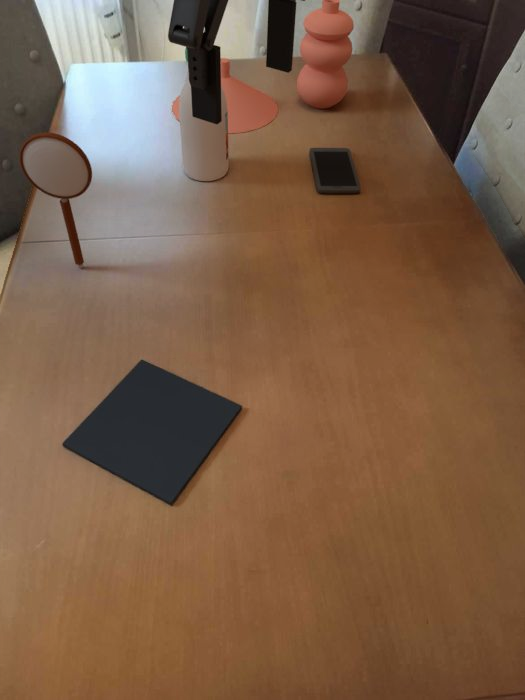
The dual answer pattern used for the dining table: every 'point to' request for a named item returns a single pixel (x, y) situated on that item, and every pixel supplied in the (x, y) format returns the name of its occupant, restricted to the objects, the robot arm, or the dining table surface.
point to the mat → (154, 430)
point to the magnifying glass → (58, 175)
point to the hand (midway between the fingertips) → (245, 92)
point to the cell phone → (334, 170)
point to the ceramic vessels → (313, 81)
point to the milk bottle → (202, 139)
